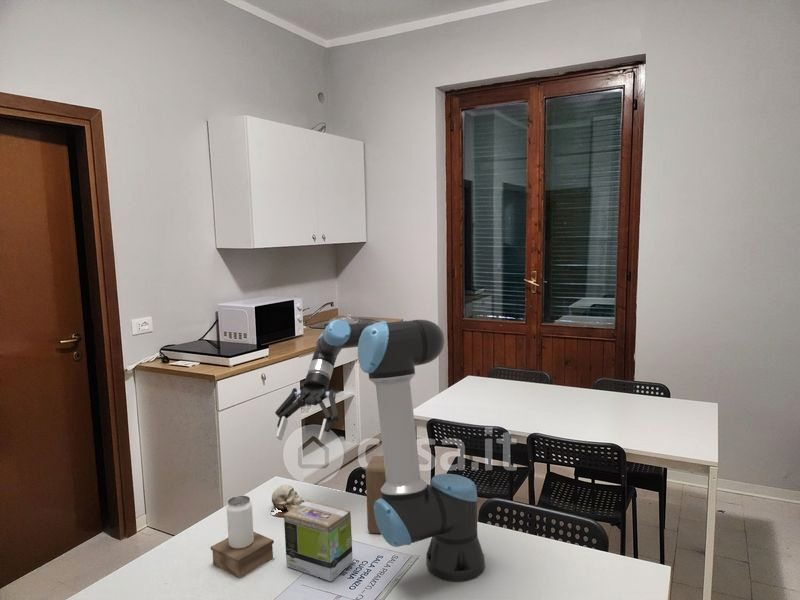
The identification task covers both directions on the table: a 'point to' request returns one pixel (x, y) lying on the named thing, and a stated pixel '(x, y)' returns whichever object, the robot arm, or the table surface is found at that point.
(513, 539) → the table surface
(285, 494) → the skull
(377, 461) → the block
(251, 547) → the pedestal
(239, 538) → the can
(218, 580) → the table surface
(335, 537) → the tea box
